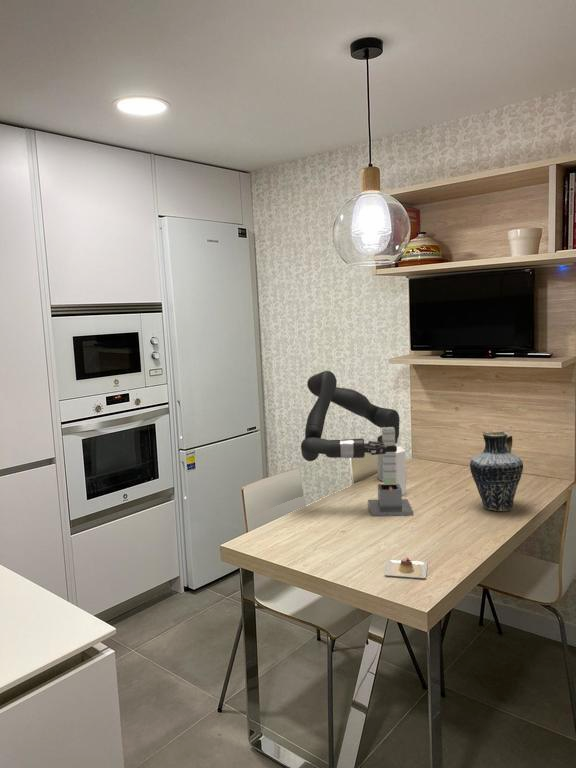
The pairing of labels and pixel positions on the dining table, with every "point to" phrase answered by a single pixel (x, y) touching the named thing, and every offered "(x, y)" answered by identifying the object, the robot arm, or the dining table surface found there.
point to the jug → (497, 471)
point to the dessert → (406, 567)
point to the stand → (389, 502)
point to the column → (389, 456)
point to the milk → (400, 467)
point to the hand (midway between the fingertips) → (395, 447)
